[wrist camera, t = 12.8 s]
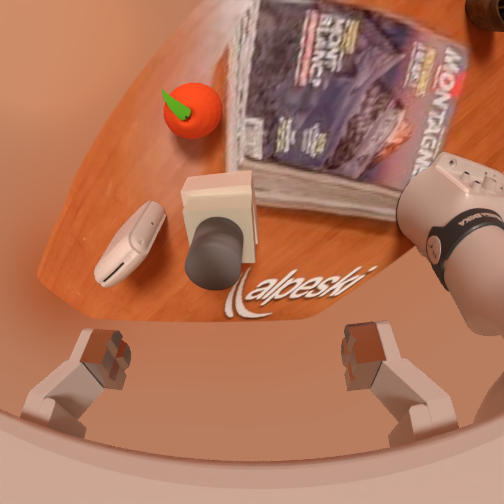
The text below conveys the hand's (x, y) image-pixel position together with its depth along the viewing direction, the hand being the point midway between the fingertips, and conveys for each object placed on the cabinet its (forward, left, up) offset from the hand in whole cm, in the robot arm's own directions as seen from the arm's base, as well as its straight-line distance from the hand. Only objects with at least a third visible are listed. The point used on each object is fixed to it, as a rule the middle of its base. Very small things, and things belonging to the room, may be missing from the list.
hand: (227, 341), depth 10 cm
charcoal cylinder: (+5, +12, -24) cm, 28 cm away
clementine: (+7, -3, -33) cm, 34 cm away
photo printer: (+19, +14, -33) cm, 41 cm away
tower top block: (+5, +12, -28) cm, 31 cm away
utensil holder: (-34, -19, -33) cm, 51 cm away
